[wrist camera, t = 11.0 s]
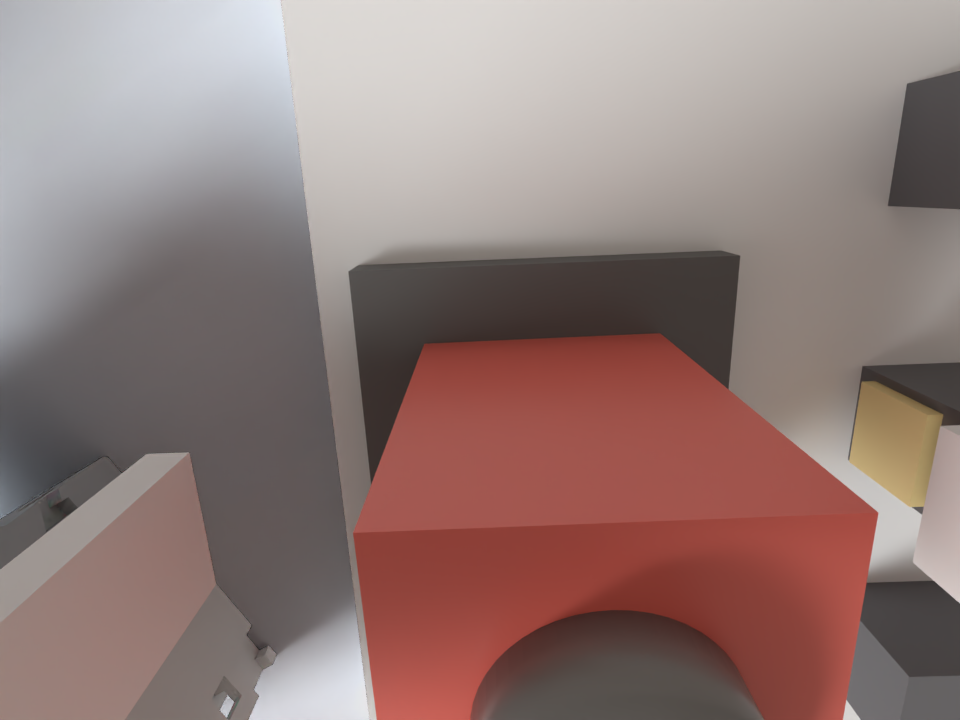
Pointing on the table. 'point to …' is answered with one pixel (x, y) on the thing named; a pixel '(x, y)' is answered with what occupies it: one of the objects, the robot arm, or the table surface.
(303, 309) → the table surface
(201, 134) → the table surface
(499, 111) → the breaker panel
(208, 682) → the circuit breaker
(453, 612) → the cap
